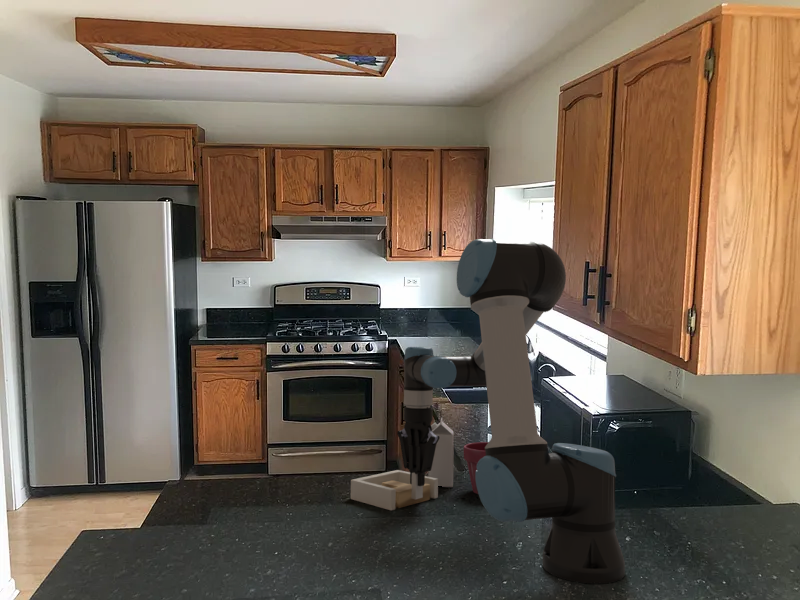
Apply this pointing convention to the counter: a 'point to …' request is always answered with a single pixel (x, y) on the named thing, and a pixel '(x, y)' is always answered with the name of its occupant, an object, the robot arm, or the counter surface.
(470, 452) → the plant pot
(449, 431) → the milk carton
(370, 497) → the bay
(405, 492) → the tee
